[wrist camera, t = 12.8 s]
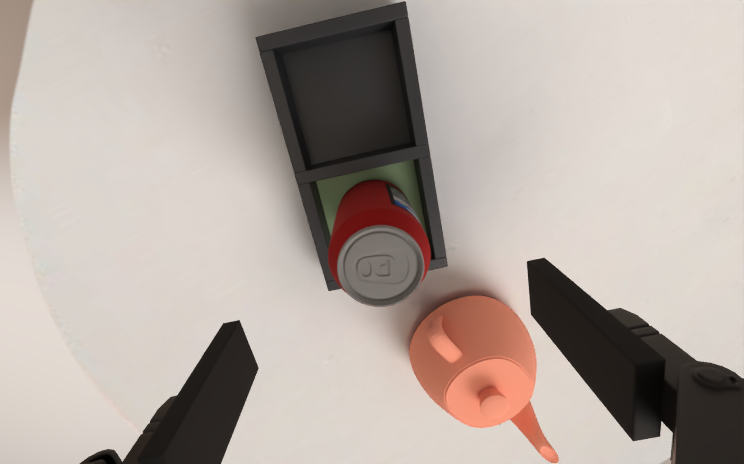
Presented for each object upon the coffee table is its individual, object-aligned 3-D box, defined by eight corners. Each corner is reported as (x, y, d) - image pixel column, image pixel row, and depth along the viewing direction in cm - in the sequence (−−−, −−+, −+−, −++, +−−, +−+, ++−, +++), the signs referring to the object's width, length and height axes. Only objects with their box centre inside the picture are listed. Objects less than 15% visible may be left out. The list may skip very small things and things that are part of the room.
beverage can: (411, 244, 34) (436, 312, 23) (341, 250, 34) (331, 320, 23) (409, 174, 32) (435, 211, 21) (333, 180, 32) (318, 219, 21)
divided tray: (267, 45, 29) (254, 36, 26) (400, 13, 29) (405, 0, 25) (331, 274, 36) (328, 291, 32) (439, 251, 35) (448, 266, 32)
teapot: (463, 253, 35) (498, 302, 26) (559, 361, 40) (617, 434, 31) (372, 325, 38) (376, 392, 29) (473, 419, 43) (504, 502, 34)
